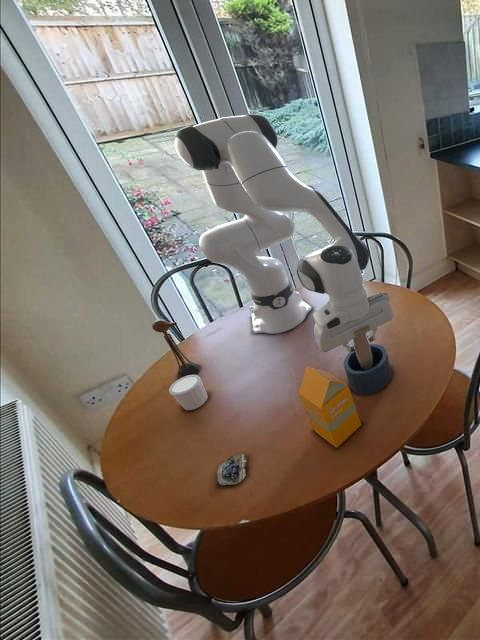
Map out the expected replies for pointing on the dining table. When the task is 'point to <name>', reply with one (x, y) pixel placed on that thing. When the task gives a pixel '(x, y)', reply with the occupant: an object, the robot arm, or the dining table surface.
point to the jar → (368, 371)
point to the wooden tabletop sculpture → (185, 367)
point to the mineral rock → (232, 470)
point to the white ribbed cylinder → (189, 392)
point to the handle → (363, 348)
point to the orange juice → (329, 406)
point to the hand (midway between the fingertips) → (361, 345)
